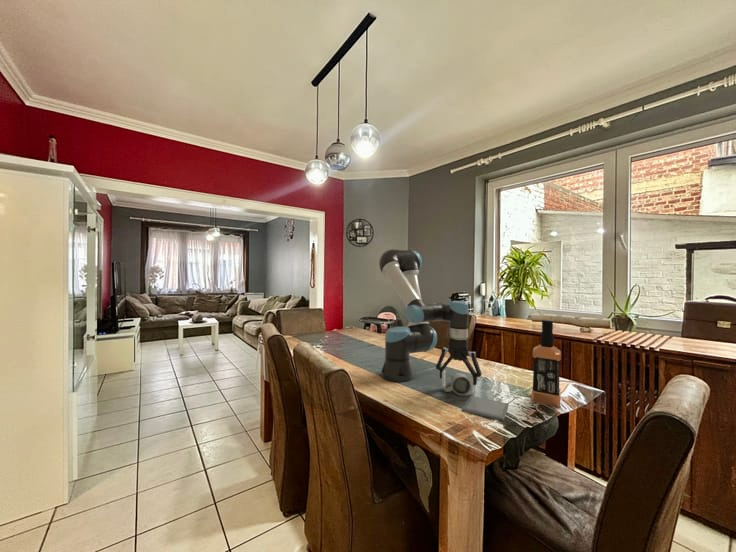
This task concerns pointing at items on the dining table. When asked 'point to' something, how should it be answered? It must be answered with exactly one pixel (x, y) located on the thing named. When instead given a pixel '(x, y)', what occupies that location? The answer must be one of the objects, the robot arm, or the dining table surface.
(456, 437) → the dining table surface
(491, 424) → the dining table surface
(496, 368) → the dining table surface
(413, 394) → the dining table surface
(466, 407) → the trivet
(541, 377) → the whiskey bottle
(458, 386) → the ceramic mug
